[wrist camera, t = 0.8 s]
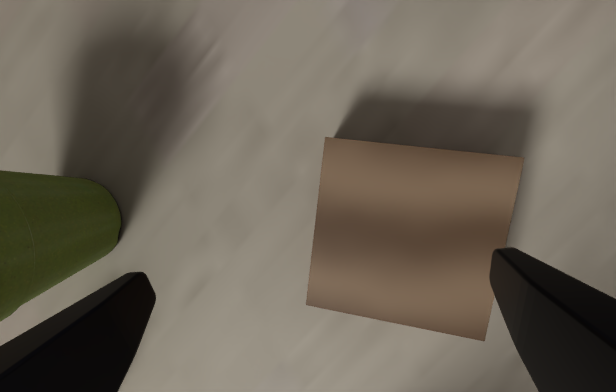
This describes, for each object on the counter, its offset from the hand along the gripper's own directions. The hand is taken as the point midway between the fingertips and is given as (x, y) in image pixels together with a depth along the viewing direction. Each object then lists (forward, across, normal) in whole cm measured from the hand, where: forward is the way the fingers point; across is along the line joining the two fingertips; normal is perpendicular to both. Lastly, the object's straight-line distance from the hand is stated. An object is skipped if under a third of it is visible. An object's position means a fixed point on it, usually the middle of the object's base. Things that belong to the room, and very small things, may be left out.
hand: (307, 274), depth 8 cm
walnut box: (+14, -4, +7) cm, 16 cm away
